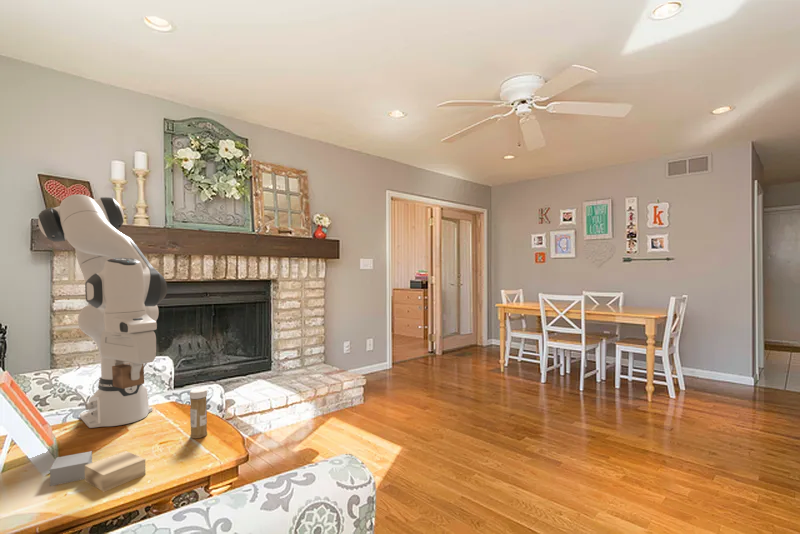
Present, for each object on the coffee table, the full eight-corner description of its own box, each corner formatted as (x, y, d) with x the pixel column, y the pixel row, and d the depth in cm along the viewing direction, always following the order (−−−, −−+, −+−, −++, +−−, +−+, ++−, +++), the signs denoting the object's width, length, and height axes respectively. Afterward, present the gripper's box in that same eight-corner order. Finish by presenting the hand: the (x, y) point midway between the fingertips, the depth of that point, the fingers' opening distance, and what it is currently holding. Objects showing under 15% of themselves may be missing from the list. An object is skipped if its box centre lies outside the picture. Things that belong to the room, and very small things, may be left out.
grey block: (56, 473, 104) (56, 457, 104) (92, 467, 107) (91, 451, 107) (50, 487, 98) (50, 469, 98) (88, 479, 101) (87, 462, 101)
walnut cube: (112, 386, 106) (112, 366, 106) (134, 381, 110) (133, 361, 110) (122, 388, 104) (122, 368, 104) (144, 383, 108) (143, 363, 108)
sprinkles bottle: (208, 436, 125) (208, 390, 125) (191, 440, 122) (190, 393, 122) (205, 431, 129) (205, 386, 129) (189, 434, 126) (188, 389, 126)
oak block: (84, 482, 100) (84, 465, 100) (126, 466, 107) (125, 450, 107) (103, 493, 95) (103, 475, 95) (145, 475, 103) (145, 459, 103)
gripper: (92, 322, 110) (94, 376, 110) (133, 326, 99) (135, 386, 99) (119, 319, 115) (120, 370, 115) (160, 323, 104) (162, 379, 104)
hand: (127, 378), depth 107 cm, fingers closed on walnut cube, 5 cm apart
